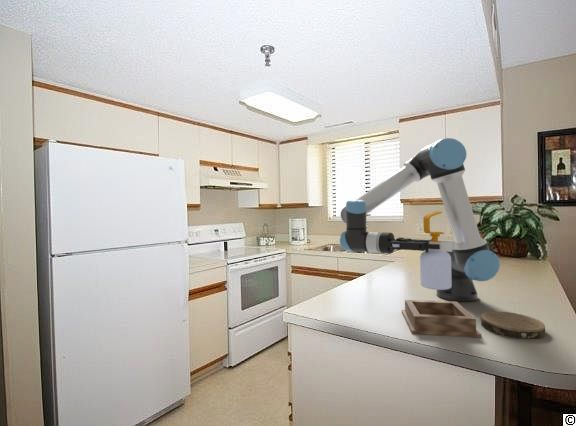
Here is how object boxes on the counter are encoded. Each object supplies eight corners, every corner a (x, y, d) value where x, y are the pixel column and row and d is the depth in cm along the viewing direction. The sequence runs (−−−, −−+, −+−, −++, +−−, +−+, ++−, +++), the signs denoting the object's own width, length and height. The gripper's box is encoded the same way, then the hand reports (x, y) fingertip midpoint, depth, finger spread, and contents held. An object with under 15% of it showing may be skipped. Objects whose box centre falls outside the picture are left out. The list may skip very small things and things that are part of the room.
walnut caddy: (458, 314, 106) (458, 300, 106) (481, 337, 87) (481, 320, 87) (401, 312, 110) (401, 298, 110) (411, 333, 91) (411, 317, 91)
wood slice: (545, 327, 94) (545, 318, 94) (544, 345, 82) (544, 334, 82) (485, 316, 104) (485, 308, 104) (476, 331, 93) (476, 321, 92)
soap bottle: (457, 290, 94) (455, 211, 94) (427, 290, 94) (425, 212, 94) (443, 283, 103) (442, 211, 102) (416, 283, 103) (415, 211, 103)
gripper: (390, 250, 116) (458, 254, 102) (371, 256, 103) (448, 262, 88) (389, 230, 116) (458, 232, 102) (371, 234, 102) (447, 236, 88)
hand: (453, 246), depth 95 cm, fingers closed on soap bottle, 5 cm apart
